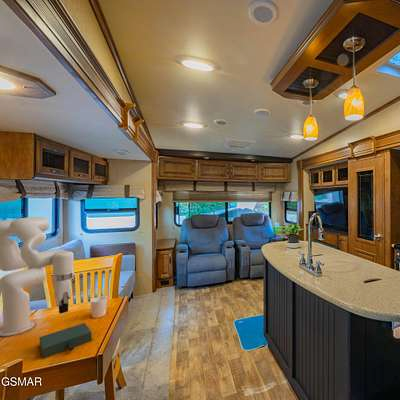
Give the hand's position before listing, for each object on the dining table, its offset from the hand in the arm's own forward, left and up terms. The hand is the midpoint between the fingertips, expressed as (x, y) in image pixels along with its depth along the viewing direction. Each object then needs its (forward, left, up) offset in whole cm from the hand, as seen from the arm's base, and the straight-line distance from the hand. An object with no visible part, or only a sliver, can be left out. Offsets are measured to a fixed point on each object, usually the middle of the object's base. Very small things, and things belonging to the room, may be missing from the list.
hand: (63, 312), depth 123 cm
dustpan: (-4, 0, -13) cm, 13 cm away
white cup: (-18, +18, -15) cm, 30 cm away
